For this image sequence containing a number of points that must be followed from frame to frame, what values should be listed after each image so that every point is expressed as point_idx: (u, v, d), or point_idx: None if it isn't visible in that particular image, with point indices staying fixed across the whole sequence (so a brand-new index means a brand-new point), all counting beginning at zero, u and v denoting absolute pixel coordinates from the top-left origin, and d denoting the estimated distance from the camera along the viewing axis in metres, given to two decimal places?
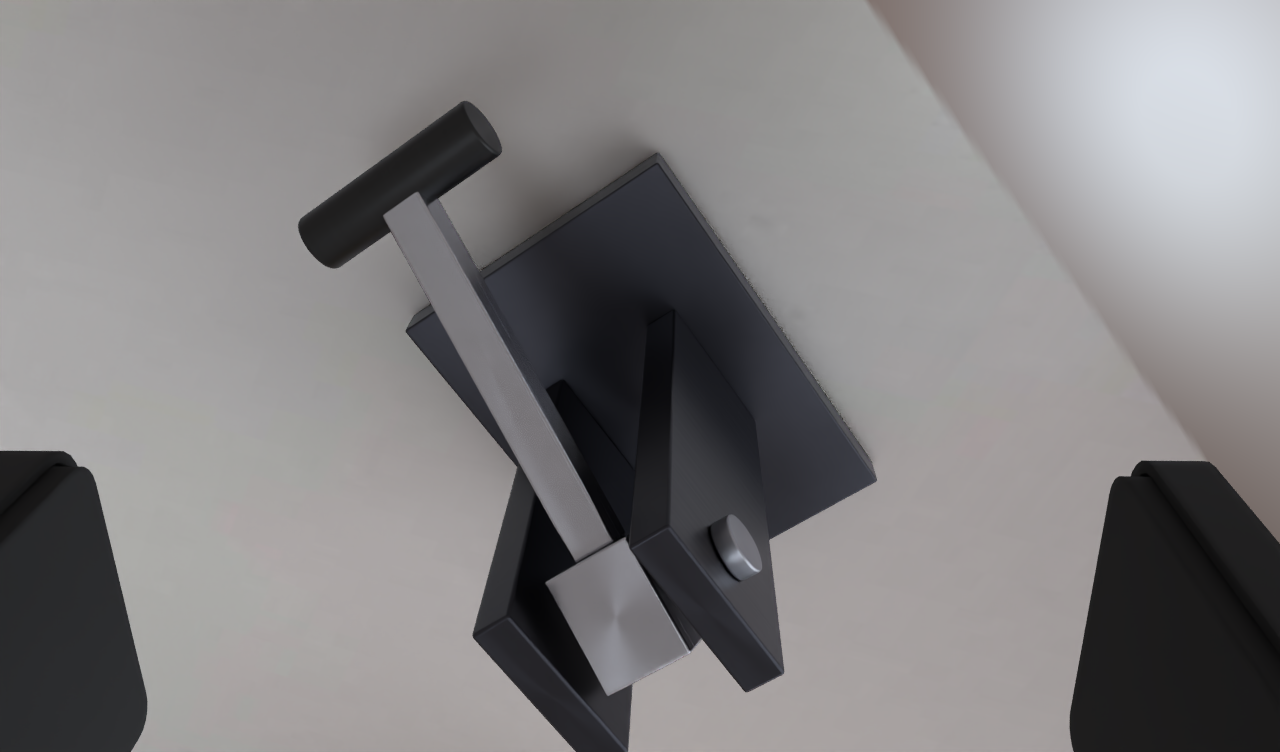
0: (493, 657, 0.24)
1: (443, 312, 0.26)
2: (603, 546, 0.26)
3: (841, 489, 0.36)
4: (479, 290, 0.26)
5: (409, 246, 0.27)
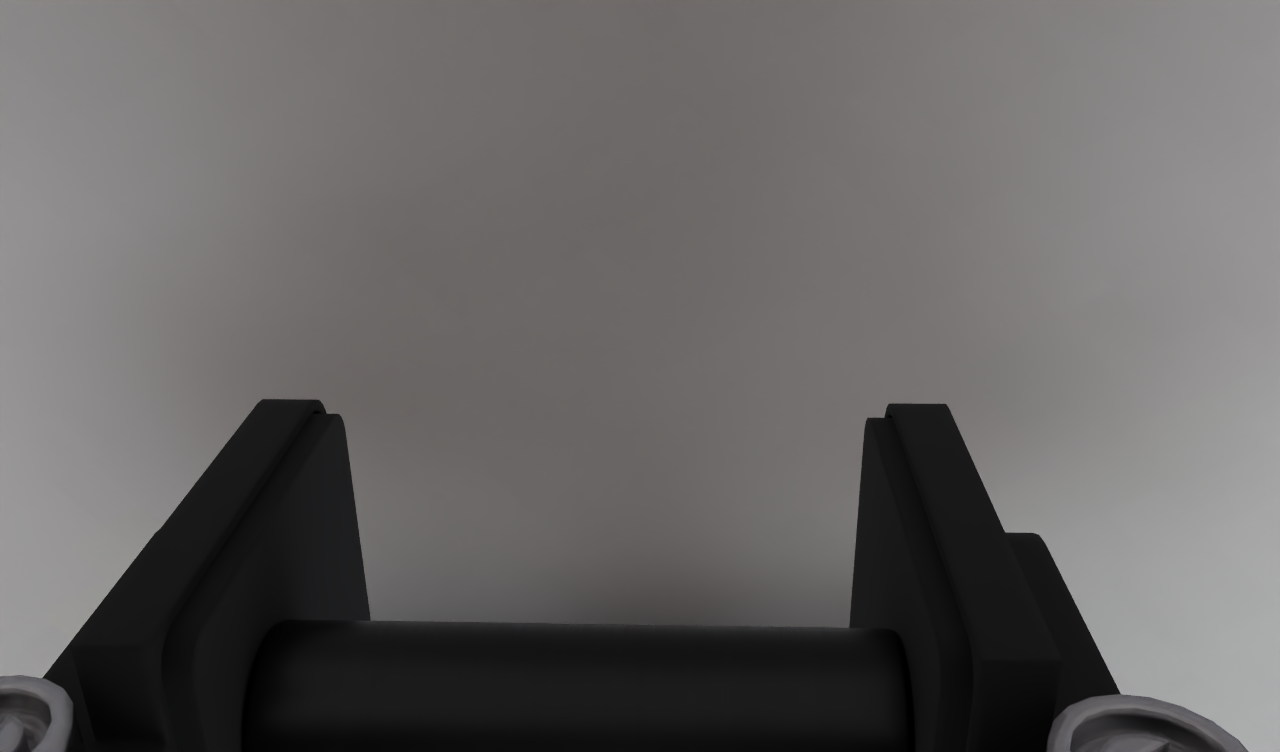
0: None
1: None
2: None
3: None
4: None
5: None
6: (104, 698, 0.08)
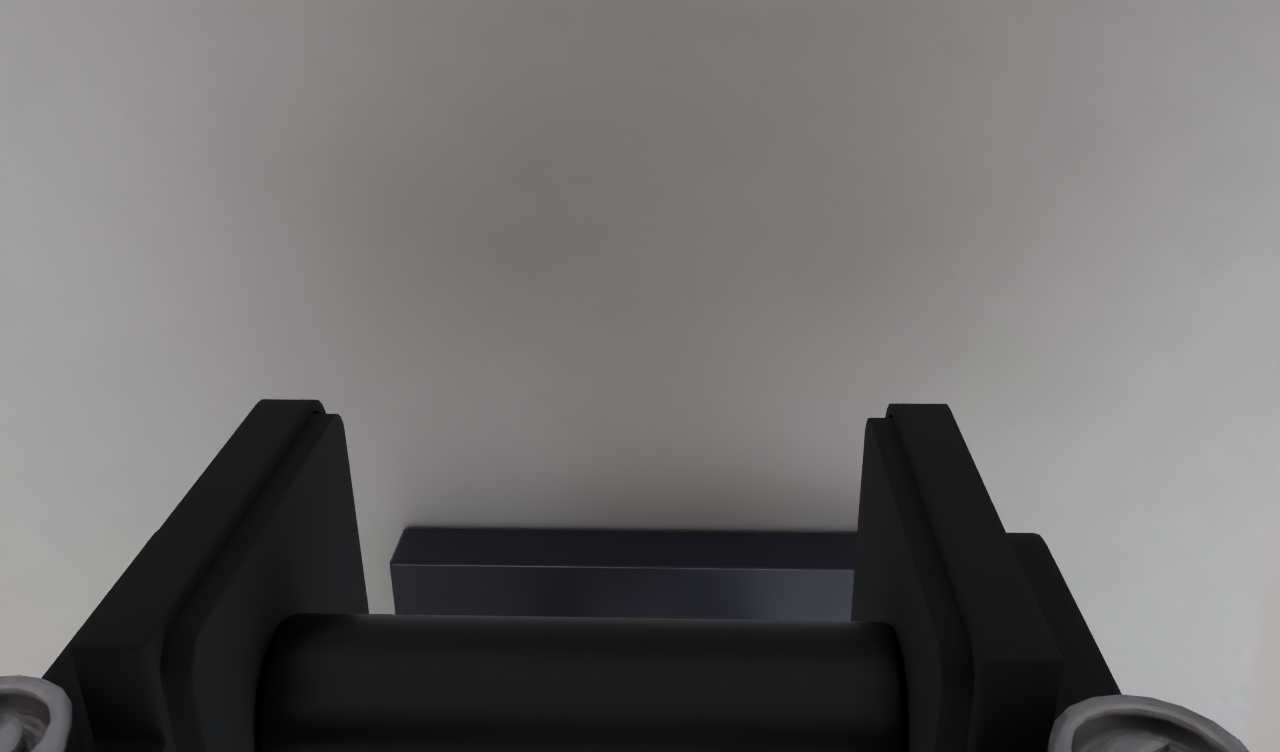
0: None
1: None
2: None
3: None
4: None
5: None
6: (103, 698, 0.08)
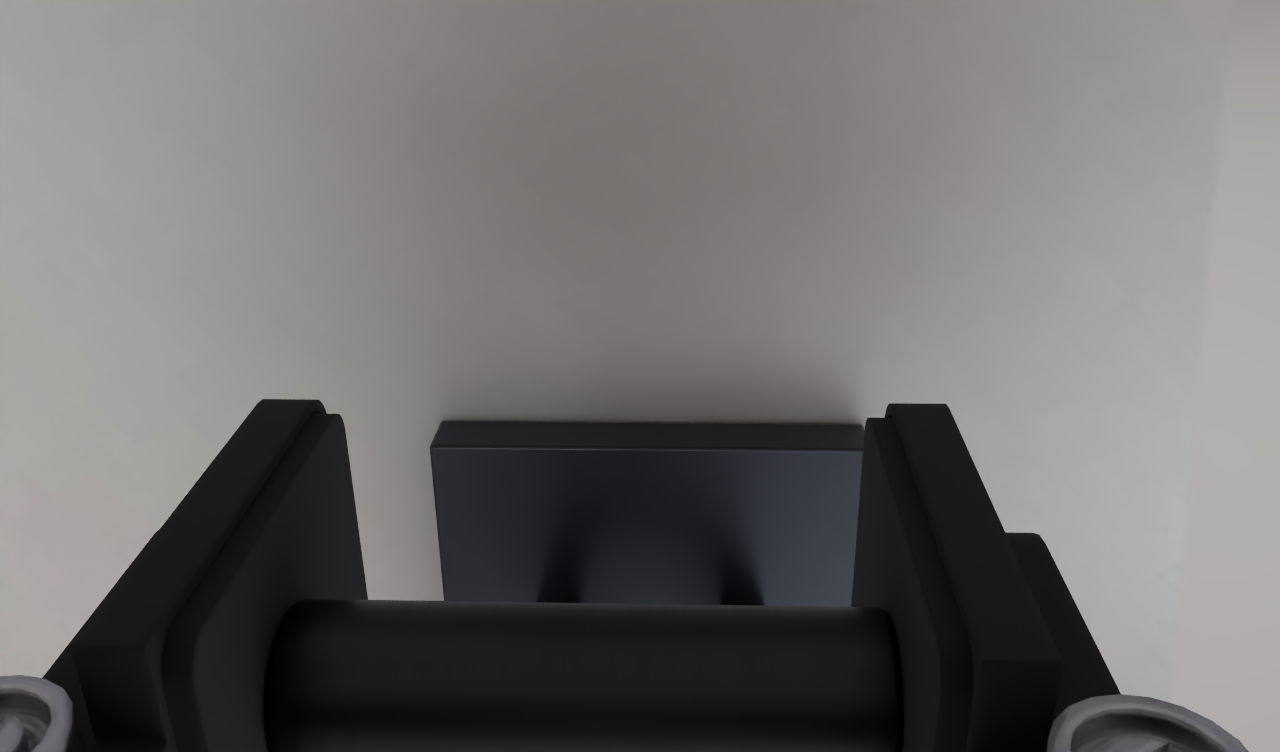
0: None
1: None
2: None
3: None
4: None
5: None
6: (104, 698, 0.08)
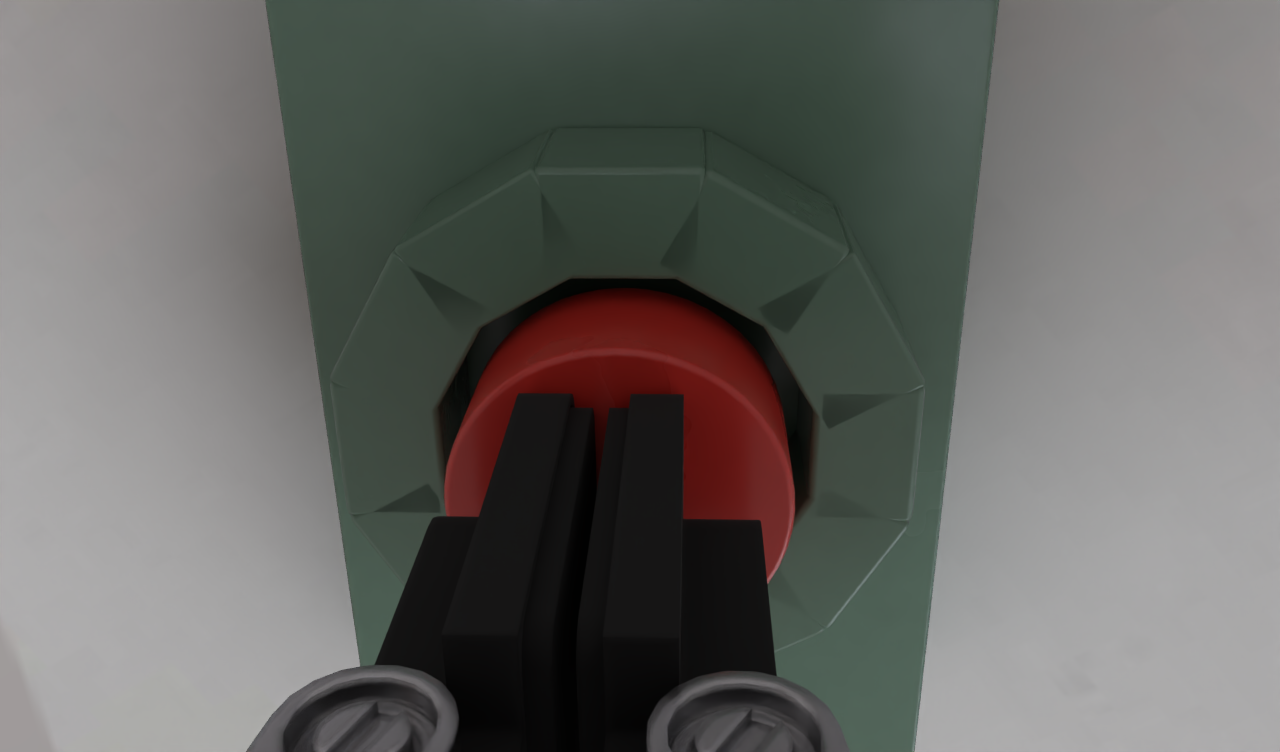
0: None
1: None
2: None
3: None
4: None
5: None
6: (466, 688, 0.08)
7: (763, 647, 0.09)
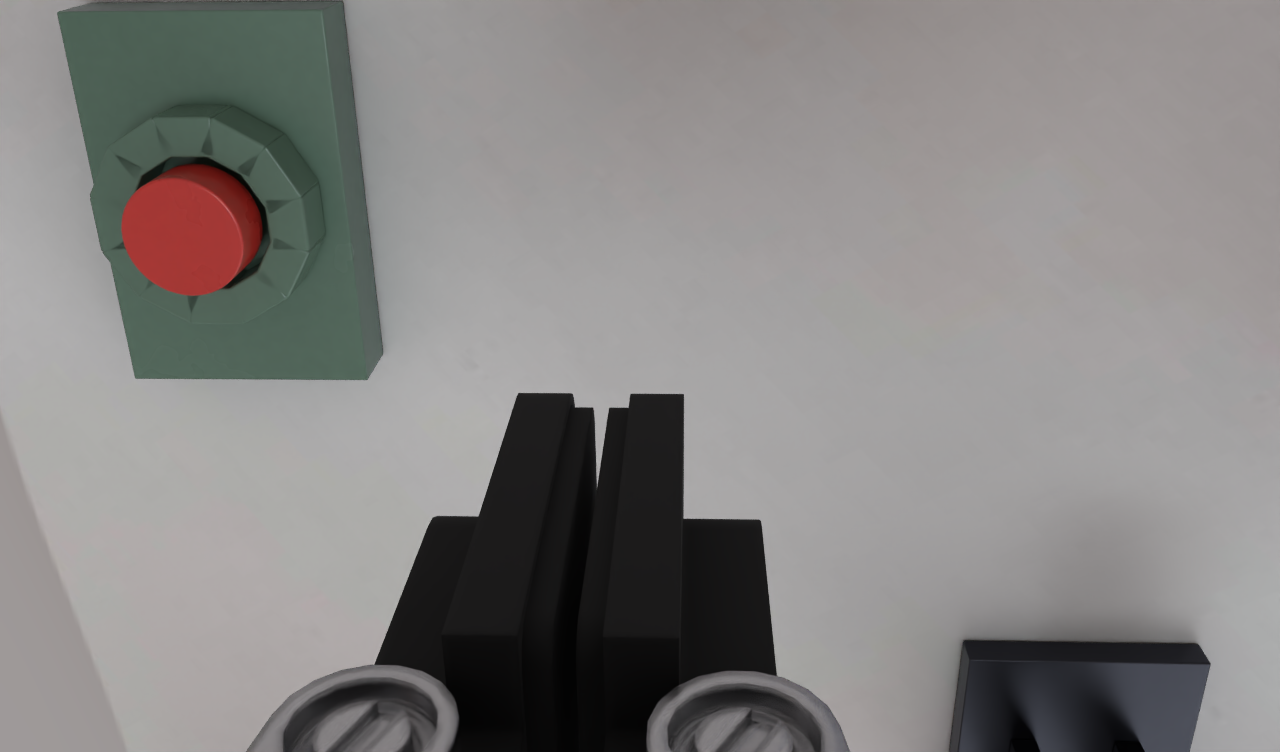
0: None
1: None
2: None
3: None
4: None
5: None
6: (467, 688, 0.08)
7: (763, 647, 0.09)
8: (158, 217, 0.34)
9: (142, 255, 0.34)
